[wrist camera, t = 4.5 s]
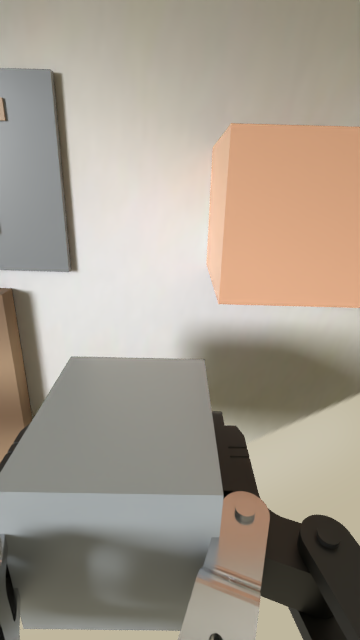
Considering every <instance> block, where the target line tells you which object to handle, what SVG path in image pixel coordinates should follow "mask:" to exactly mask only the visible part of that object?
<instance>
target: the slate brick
mask: <svg viewBox="0 0 360 640" xmlns="http://www.w3.org/2000/svg"><path fill="white" fill-rule="evenodd" d="M223 496H224V495H223V488H222V481H221V474H220V466H219V459H218V452H217V445H216V438H215V431H214V424H213V417H212V409H211V402H210V395H209V388H208V381H207V374H206V367H205V360H204V359H164V358H116V357H71V358H70V359H69V361H68V363H67V364H66V366H65V368H64V369H63V371H62V372H61V374H60V376H59V377H58V379H57V381H56V382H55V384H54V386H53V387H52V389H51V390H50V392H49V394H48V395H47V397H46V399H45V400H44V402H43V404H42V405H41V407H40V408H39V410H38V412H37V413H36V415H35V417H34V418H33V420H32V422H31V423H30V425H29V426H28V428H27V430H26V431H25V433H24V435H23V436H22V438H21V440H20V441H19V443H18V444H17V446H16V448H15V449H14V451H13V453H12V454H11V456H10V458H9V459H8V461H7V462H6V464H5V466H4V467H3V469H2V471H1V472H0V534H5V536H6V540H7V545H8V554H7V565H8V569H9V573H10V577H11V581H12V585H13V588H18V590H19V594H20V598H21V605H20V616H21V620H22V624H23V628H24V629H88V630H89V629H90V630H172V631H174V630H175V631H181V628H182V624H183V621H184V618H185V614H186V611H187V608H188V604H189V601H190V597H191V594H192V591H193V587H194V584H195V581H196V577H197V575H198V572H199V570H200V568H202V567H203V565H204V562H205V558H206V555H207V552H208V548H209V545H210V541H211V538H212V537H219V536H220V526H221V516H222V506H223Z"/></svg>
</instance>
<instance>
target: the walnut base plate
mask: <svg viewBox="0 0 360 640" xmlns="http://www.w3.org/2000/svg"><path fill="white" fill-rule="evenodd" d="M31 422H32V414H31V407H30V401H29V395H28V388H27V382H26V376H25V369H24V363H23V356H22V350H21V344H20V337H19V331H18V325H17V318H16V312H15V306H14V299H13V293H12V289H8V288H0V463H1V461H2V459H3V458H4V456H5V455H6V454H7V453H8V450H9V448H10V447H11V445H12V444H13V442H14V440H15V439H16V437H17V436H18V434H19V432H20V431H21V430H22V429H24V428H25V427H26V426H27V425H28V424H30V423H31Z"/></svg>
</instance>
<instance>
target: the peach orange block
mask: <svg viewBox="0 0 360 640" xmlns="http://www.w3.org/2000/svg"><path fill="white" fill-rule="evenodd" d="M207 267H208V271H209V274H210V277H211V281H212V284H213V287H214V290H215V294H216V297H217V300H218V304H235V305H273V306H311V307H349V308H360V127H345V126H309V125H272V124H235V123H231V124H230V126H229V127H228V128H227V130H226V131H225V132H224V133H223V135H222V136H221V137H220V139H219V140H218V141H217V143H216V144H215V145H214V146H213V153H212V171H211V190H210V208H209V227H208V246H207Z"/></svg>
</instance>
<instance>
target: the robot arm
mask: <svg viewBox="0 0 360 640" xmlns="http://www.w3.org/2000/svg"><path fill="white" fill-rule="evenodd" d="M212 417H213V424H214V431H215V438H216V445H217V452H218V459H219V466H220V474H221V481H222V488H223V495H224V496H223V506H222V516H221V526H220V536H219V537H212V538H211V541H210V545H209V548H208V552H207V555H206V558H205V562H204V565H203V567H202V568H200V570H199V572H198V575H197V577H196V581H195V584H194V587H193V591H192V594H191V597H190V601H189V604H188V608H187V611H186V614H185V618H184V621H183V624H182V628H181V631H180V634H179V638H178V640H255V636H256V628H257V621H258V613H259V605H260V596H263V597H265V598H268V599H270V600H273V601H275V602H278V603H280V604H283V605H285V606H288V607H289V610H290V611H291V614H292V616H293V618H294V621H295V623H296V625H297V627H298V629H299V631H300V633H301V635H302V638H303V640H360V546H359V545H358V543H357V542H356V541H355V539H354V538H353V536H352V535H351V534H350V532H349V531H348V530H347V529H346V528H345V527H344V526H343V525H342V524H341V523H339V522H338V521H336V520H334V519H332V518H330V517H327V516H323V515H312V516H309V517H307V518H306V519H304V520H303V522H302V524H301V523H298V522H295V521H292V520H289V519H286V518H283V517H280V516H278V515H276V514H275V513H273V512H272V511H271V510H269V509H268V508H267V506H266V504H265V503H264V502H263V501H262V500H261V499H260V496H259V493H258V490H257V486H256V482H255V478H254V474H253V470H252V466H251V462H250V459H249V454H248V450H247V446H246V442H245V438H244V435H243V434H242V433H241V432H240V430H239V429H238V428H237V427H236V426H224V421H223V416H222V412H216V411H212ZM29 425H30V424H28V425H27V426H26V427H25V428H24V429H22V430H21V431H20V432H19V434H18V436H17V437H16V439H15V440H14V442H13V444H12V445H11V447H10V448H9V450H8V453H7V454H6V455H5V456H4V458H3V459H2V461H1V463H0V472H1V471H2V469H3V467H4V466H5V464H6V462H7V461H8V459H9V458H10V456H11V454H12V453H13V451H14V449H15V448H16V446H17V444H18V443H19V441H20V440H21V438H22V436H23V435H24V433H25V431H26V430H27V428H28V426H29ZM7 554H8V545H7V540H6V536H5V534H0V640H20V636H19V623H20V605H21V598H20V594H19V590H18V588H13V585H12V581H11V577H10V573H9V569H8V565H7Z"/></svg>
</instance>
